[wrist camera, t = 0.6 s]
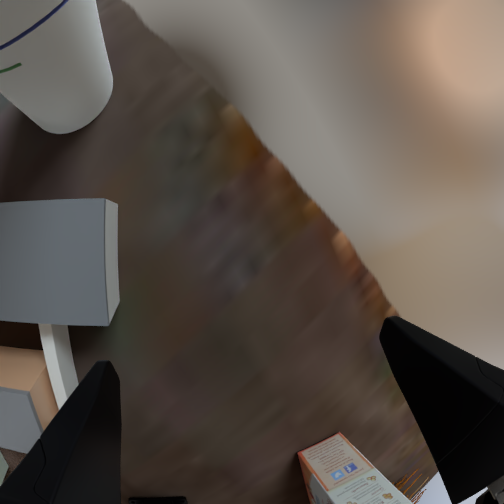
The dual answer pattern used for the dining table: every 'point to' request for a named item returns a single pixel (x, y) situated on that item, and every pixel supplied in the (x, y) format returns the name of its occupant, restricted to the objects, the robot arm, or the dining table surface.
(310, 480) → the cracker box
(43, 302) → the grey forked piece
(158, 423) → the dining table surface
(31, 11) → the cylindrical container
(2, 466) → the tray
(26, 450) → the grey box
